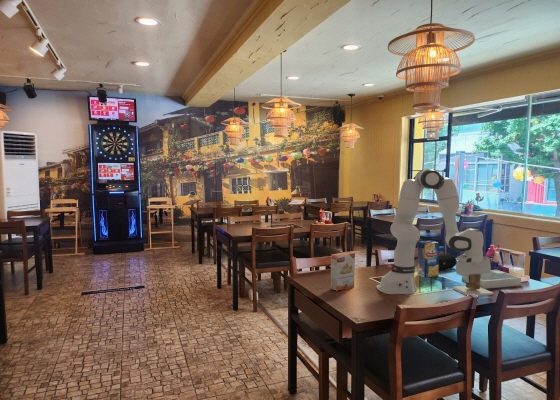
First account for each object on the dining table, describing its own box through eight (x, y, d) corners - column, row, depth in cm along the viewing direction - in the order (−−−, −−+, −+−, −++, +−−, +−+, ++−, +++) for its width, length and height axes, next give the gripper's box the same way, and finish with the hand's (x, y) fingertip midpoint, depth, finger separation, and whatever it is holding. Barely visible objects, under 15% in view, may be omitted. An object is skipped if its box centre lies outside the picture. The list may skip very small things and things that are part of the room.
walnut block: (472, 289, 198) (472, 275, 197) (465, 286, 203) (466, 272, 202) (480, 289, 199) (480, 274, 198) (473, 286, 204) (473, 272, 203)
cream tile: (471, 297, 193) (471, 294, 193) (453, 289, 206) (453, 286, 206) (493, 295, 196) (493, 292, 196) (474, 287, 209) (474, 284, 209)
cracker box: (337, 292, 204) (337, 256, 202) (330, 289, 209) (330, 254, 207) (355, 287, 211) (355, 252, 209) (348, 285, 216) (348, 251, 214)
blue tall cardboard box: (438, 275, 233) (439, 242, 231) (424, 277, 229) (425, 243, 228) (431, 272, 239) (431, 240, 237) (417, 274, 236) (418, 241, 234)
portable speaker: (429, 273, 238) (430, 259, 237) (418, 270, 247) (418, 255, 246) (457, 269, 248) (458, 255, 247) (446, 265, 257) (446, 252, 256)
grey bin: (483, 289, 205) (483, 281, 205) (461, 280, 222) (462, 272, 222) (520, 286, 211) (521, 277, 210) (496, 277, 228) (496, 269, 227)
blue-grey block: (497, 283, 215) (497, 273, 214) (490, 280, 219) (491, 271, 219) (504, 282, 216) (504, 272, 215) (497, 280, 221) (498, 270, 220)
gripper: (485, 255, 205) (484, 278, 206) (454, 257, 200) (453, 281, 202) (494, 257, 199) (493, 281, 200) (462, 259, 194) (461, 284, 195)
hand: (472, 281), depth 201 cm, fingers closed on walnut block, 5 cm apart
